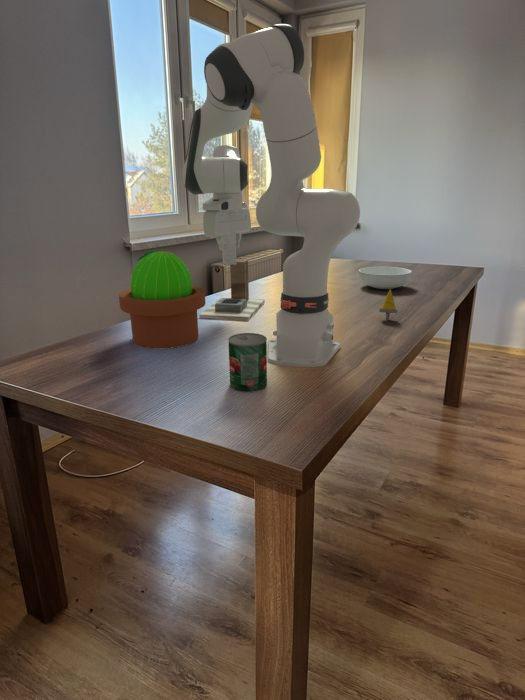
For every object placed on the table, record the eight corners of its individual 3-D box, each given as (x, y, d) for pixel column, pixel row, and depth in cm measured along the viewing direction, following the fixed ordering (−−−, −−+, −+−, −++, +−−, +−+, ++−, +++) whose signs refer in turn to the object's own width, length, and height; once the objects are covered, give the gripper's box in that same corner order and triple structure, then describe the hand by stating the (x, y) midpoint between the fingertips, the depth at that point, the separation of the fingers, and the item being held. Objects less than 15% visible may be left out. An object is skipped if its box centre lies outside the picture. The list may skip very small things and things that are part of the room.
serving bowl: (407, 282, 204) (408, 266, 202) (413, 293, 185) (414, 275, 183) (357, 281, 208) (358, 265, 206) (357, 291, 188) (358, 274, 186)
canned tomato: (274, 389, 101) (274, 339, 97) (243, 399, 97) (241, 347, 93) (253, 377, 107) (252, 330, 104) (222, 386, 103) (220, 337, 99)
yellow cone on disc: (377, 321, 147) (380, 288, 145) (379, 320, 152) (382, 288, 150) (395, 322, 145) (398, 289, 144) (396, 321, 150) (400, 289, 149)
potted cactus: (222, 339, 133) (218, 248, 125) (154, 360, 118) (145, 257, 110) (175, 324, 148) (169, 241, 139) (109, 341, 133) (98, 249, 125)
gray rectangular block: (236, 264, 152) (235, 232, 149) (223, 264, 152) (222, 232, 149) (235, 262, 156) (234, 230, 153) (222, 262, 156) (221, 231, 152)
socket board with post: (248, 321, 150) (247, 272, 144) (199, 319, 153) (196, 270, 148) (264, 303, 172) (264, 259, 167) (221, 301, 175) (219, 258, 170)
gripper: (239, 201, 158) (240, 244, 162) (198, 204, 142) (201, 252, 146) (255, 202, 154) (255, 245, 159) (215, 205, 138) (217, 253, 143)
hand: (229, 249), depth 152 cm, fingers closed on gray rectangular block, 6 cm apart
